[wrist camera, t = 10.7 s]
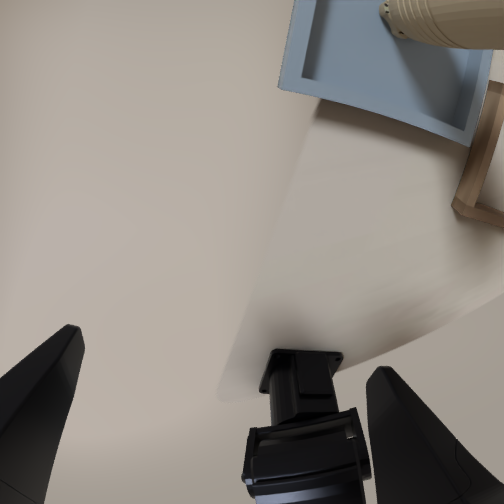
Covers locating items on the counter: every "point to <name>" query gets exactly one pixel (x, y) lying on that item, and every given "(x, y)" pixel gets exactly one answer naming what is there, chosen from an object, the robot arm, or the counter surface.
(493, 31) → the handle
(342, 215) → the counter surface
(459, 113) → the tray
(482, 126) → the brown square frame
